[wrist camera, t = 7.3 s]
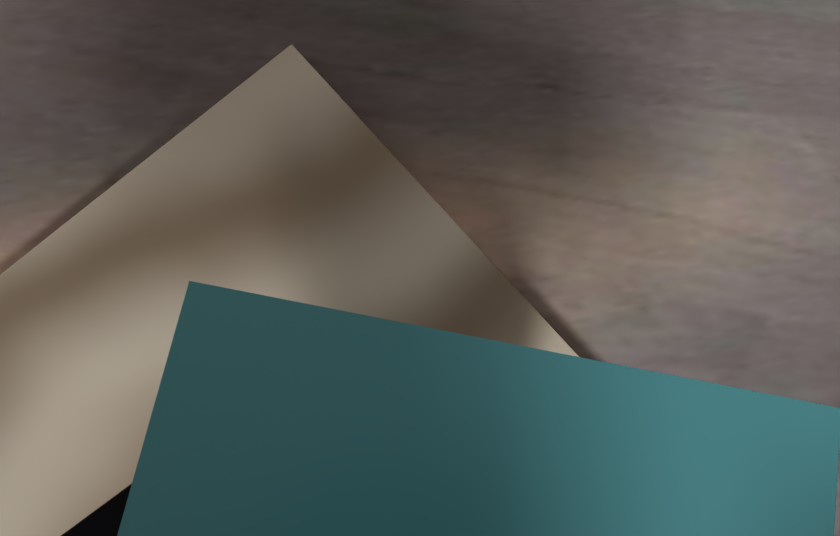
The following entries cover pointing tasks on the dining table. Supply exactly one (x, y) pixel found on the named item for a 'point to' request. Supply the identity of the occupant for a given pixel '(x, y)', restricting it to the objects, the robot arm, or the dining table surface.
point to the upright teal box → (456, 437)
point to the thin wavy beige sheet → (218, 278)
